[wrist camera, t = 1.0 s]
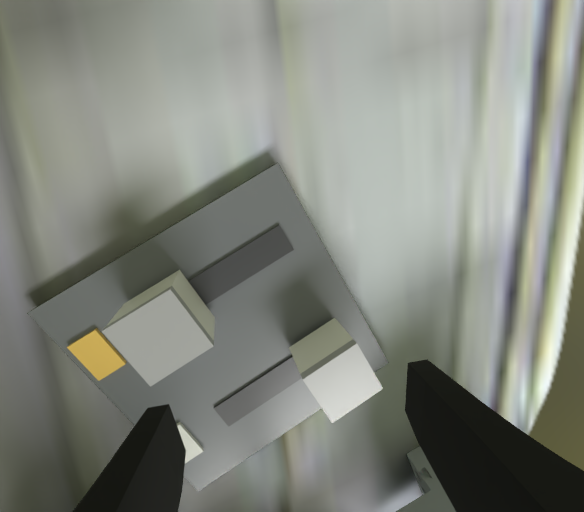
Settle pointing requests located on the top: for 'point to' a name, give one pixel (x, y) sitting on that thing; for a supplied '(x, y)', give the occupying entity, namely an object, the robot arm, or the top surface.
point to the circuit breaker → (426, 487)
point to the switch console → (220, 322)
